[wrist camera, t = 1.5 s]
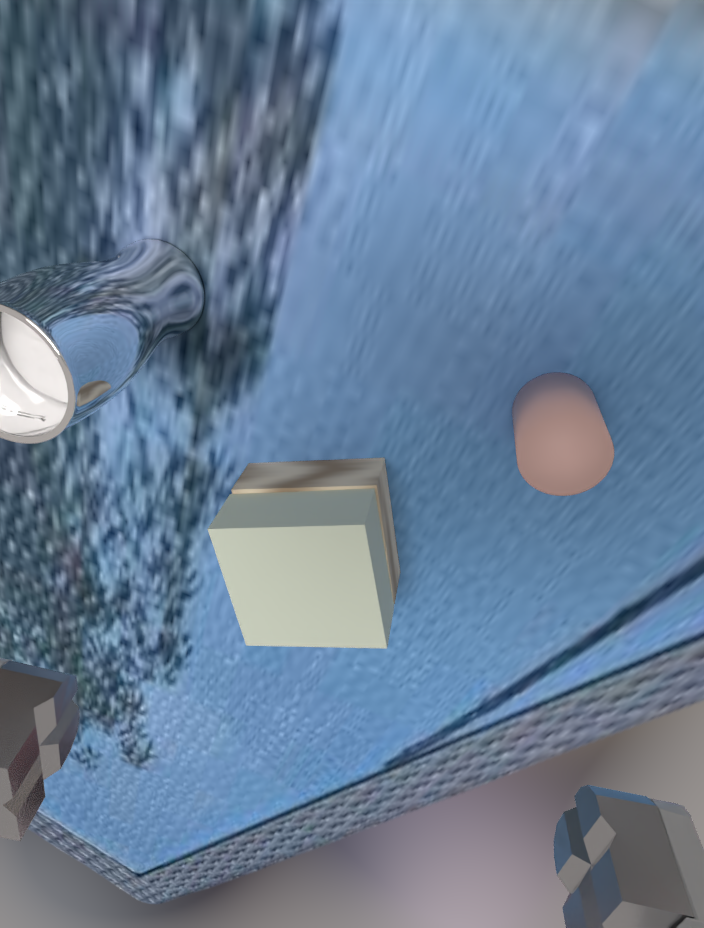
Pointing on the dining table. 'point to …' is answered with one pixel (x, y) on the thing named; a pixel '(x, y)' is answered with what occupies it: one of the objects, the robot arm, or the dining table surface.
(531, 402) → the rose cylinder
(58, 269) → the beer glass
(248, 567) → the tower top
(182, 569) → the dining table surface
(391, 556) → the tower base
